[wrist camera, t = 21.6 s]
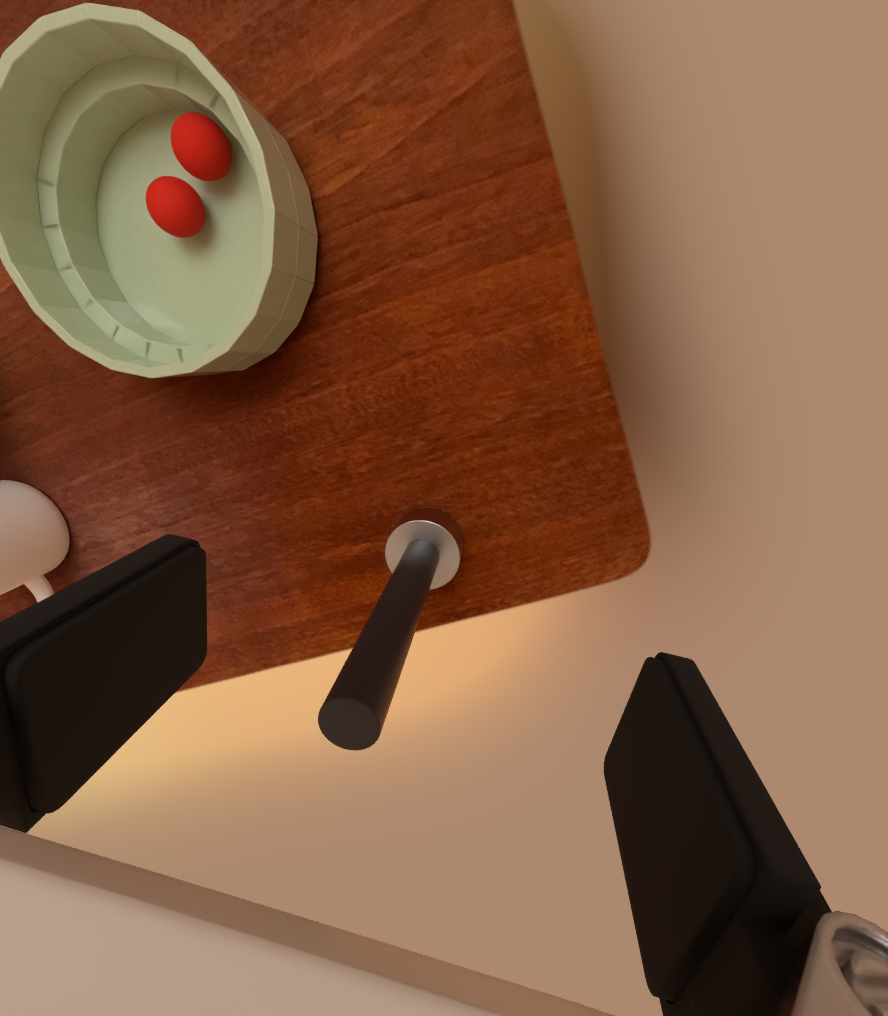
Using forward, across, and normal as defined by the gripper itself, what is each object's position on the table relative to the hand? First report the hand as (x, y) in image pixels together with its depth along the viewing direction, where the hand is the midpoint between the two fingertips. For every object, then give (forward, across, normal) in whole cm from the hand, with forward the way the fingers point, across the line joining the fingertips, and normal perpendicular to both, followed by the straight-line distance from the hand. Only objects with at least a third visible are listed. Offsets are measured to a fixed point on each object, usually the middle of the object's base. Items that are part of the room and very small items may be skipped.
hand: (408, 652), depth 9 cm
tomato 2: (+20, +20, -10) cm, 30 cm away
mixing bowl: (+22, +20, -9) cm, 31 cm away
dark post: (+22, +2, +8) cm, 24 cm away
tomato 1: (+20, +19, -13) cm, 31 cm away
